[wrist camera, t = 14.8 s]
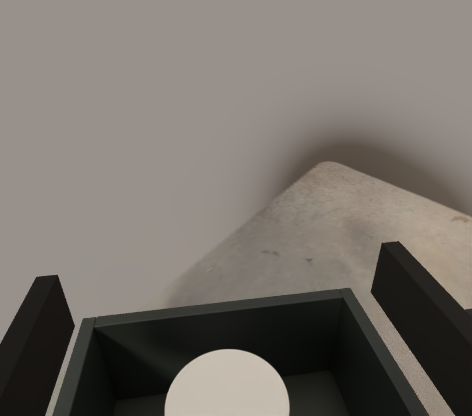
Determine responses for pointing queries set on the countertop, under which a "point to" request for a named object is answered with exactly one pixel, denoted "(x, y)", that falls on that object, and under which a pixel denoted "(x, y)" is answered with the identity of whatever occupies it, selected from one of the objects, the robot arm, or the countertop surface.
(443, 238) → the countertop surface
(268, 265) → the countertop surface
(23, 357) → the robot arm
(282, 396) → the downlight
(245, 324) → the dark grey open box
